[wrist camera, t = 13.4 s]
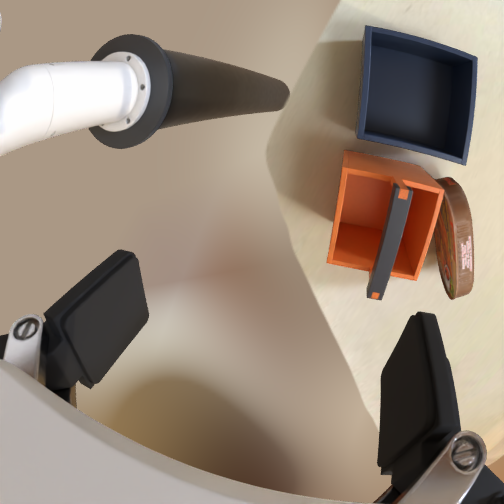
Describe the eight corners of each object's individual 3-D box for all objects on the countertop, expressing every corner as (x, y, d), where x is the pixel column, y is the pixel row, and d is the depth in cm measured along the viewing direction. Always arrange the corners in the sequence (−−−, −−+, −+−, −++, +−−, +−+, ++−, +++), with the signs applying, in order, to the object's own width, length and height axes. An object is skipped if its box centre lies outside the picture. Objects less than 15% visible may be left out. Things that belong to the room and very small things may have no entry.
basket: (333, 223, 37) (321, 288, 25) (344, 148, 32) (341, 176, 20) (403, 238, 35) (422, 308, 23) (420, 164, 30) (460, 203, 18)
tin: (424, 172, 30) (443, 192, 23) (446, 167, 29) (470, 186, 22) (437, 276, 35) (451, 314, 28) (457, 272, 34) (473, 309, 27)
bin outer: (355, 132, 31) (357, 138, 25) (362, 40, 25) (365, 25, 19) (445, 154, 28) (465, 166, 22) (455, 64, 22) (477, 57, 16)
